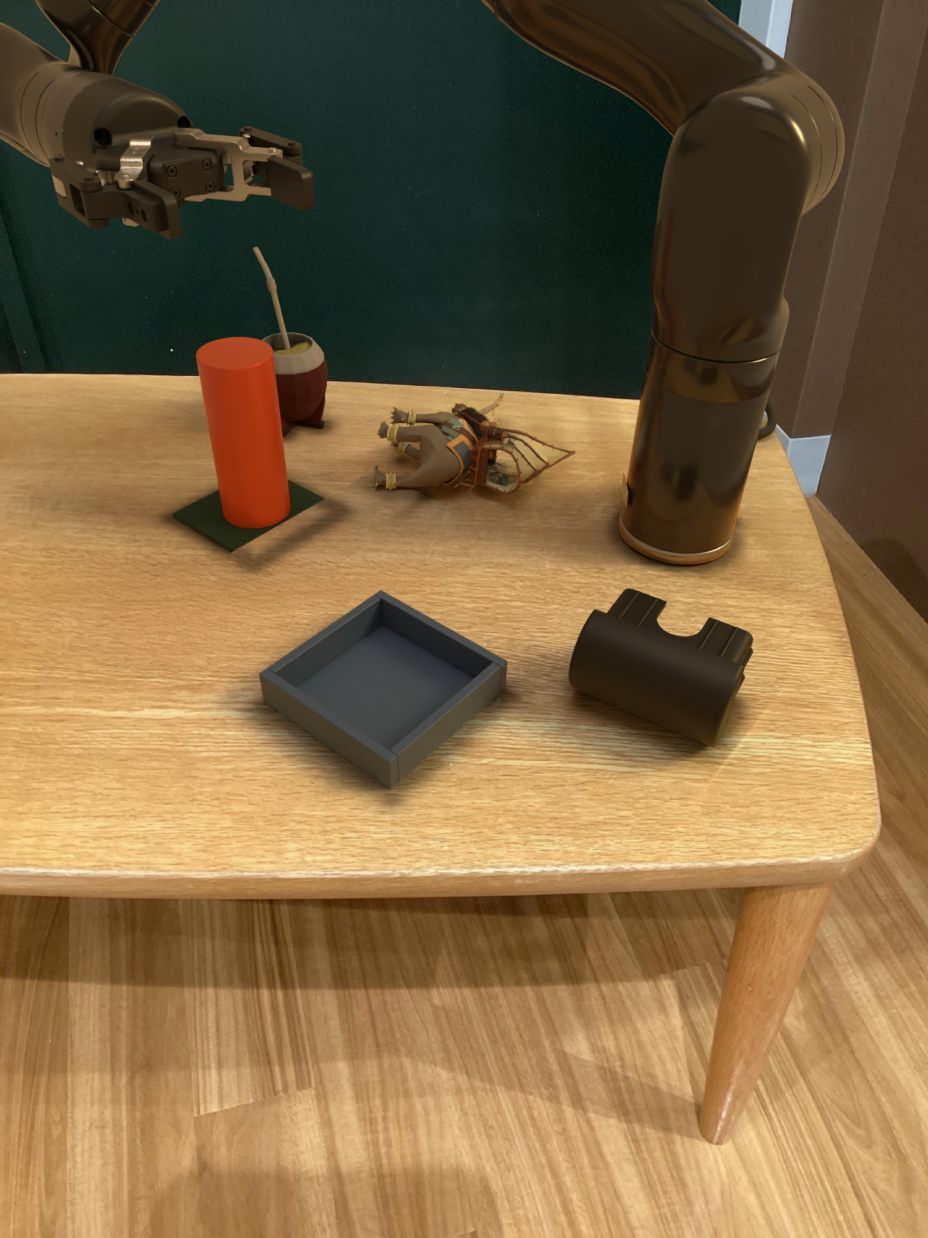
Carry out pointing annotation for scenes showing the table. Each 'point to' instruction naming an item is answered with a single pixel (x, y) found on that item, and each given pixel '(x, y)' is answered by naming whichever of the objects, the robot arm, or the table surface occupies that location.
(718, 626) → the end cap
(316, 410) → the mate gourd
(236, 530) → the mat
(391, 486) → the figurine
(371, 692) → the dark grey square tray
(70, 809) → the table surface
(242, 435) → the tube
